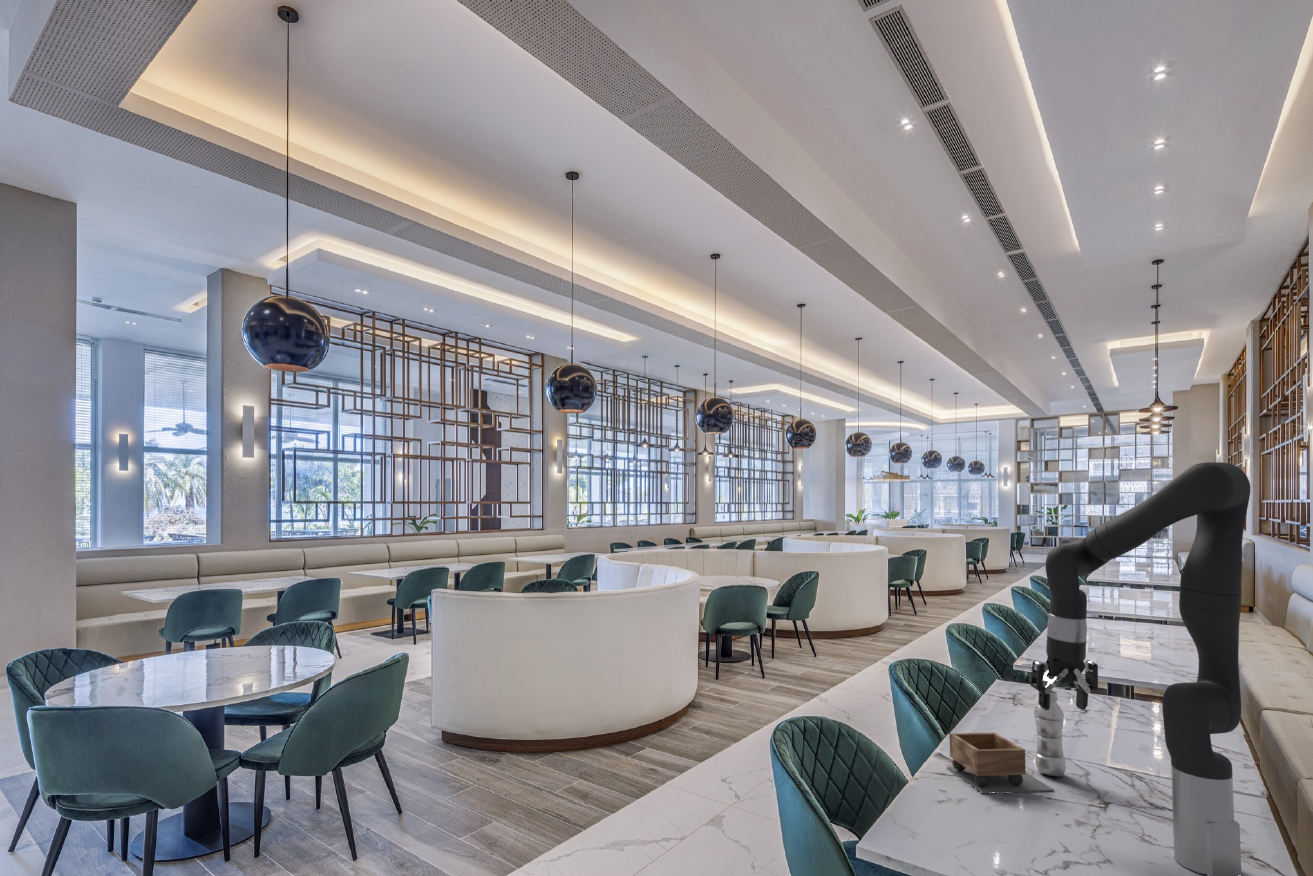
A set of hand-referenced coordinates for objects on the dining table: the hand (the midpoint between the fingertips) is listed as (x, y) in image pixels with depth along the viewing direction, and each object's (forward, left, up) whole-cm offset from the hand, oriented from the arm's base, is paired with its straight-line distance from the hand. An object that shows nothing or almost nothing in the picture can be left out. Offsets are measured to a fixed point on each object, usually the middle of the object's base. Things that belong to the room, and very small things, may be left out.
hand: (1062, 708), depth 157 cm
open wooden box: (+17, +7, -22) cm, 29 cm away
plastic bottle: (+19, -11, -22) cm, 31 cm away
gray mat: (+17, +4, -22) cm, 28 cm away
